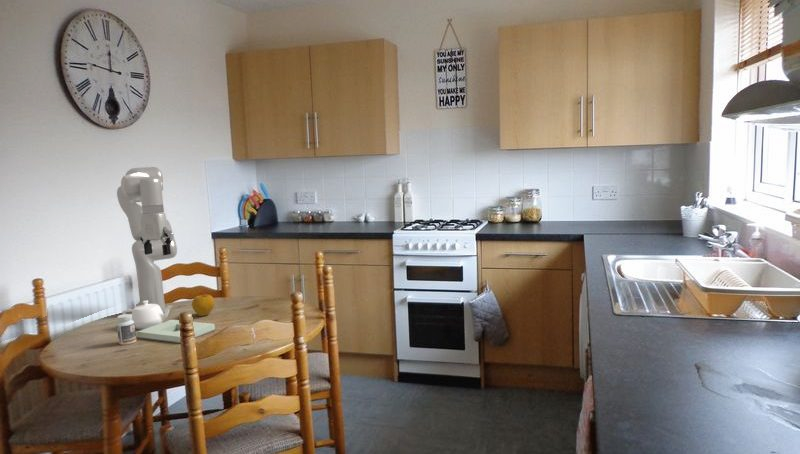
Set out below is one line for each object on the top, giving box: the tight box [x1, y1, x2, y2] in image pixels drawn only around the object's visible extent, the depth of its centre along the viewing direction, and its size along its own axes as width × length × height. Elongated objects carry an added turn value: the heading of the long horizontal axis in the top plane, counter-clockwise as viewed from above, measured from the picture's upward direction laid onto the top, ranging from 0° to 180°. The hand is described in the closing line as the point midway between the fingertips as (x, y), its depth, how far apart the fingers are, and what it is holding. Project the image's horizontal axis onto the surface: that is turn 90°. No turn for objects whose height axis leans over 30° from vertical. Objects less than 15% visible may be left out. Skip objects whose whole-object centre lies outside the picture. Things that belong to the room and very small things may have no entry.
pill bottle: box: [116, 313, 137, 346], centre depth 204 cm, size 6×6×10 cm
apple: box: [191, 294, 216, 317], centre depth 236 cm, size 9×9×9 cm
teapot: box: [121, 300, 173, 330], centre depth 224 cm, size 20×12×10 cm, turn 88°
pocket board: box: [136, 319, 216, 344], centre depth 212 cm, size 22×16×2 cm
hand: (157, 254), depth 221 cm, fingers open, 9 cm apart
